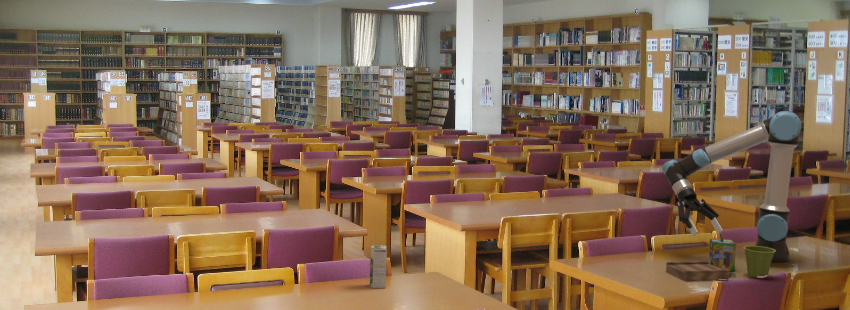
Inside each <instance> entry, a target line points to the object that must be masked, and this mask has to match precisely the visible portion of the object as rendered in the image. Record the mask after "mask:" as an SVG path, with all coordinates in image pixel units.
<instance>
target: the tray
mask: <svg viewBox="0 0 850 310" xmlns="http://www.w3.org/2000/svg"><path fill="white" fill-rule="evenodd" d="M665 272H667V273H668V274H670V275H672V276H674V277H677V278H678V279H680V280H682V281H684V282H705V281H707V282H708V281H711V282H712V280H717V281H720V280H719V279H729V280H730V277H729V272H730V271H729V270H722V269H720V268H717V267H715V266H713V265H710V264H709V260H707V261H704V260H703V261H700V260H699V261H667V262H666V265H665Z"/></svg>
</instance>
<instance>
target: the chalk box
mask: <svg viewBox="0 0 850 310" xmlns="http://www.w3.org/2000/svg"><path fill="white" fill-rule="evenodd" d="M719 233H720V232H719ZM719 237H720V238H709V254H708V256H709V257H708V262H709V264H710V265H713V266H715V267H717V268H720V269H722V270H729V272H735V269H736V268H735V267H736V242H734V241H733V240H732V239H723V235H722V232H721V233H720V234H719Z"/></svg>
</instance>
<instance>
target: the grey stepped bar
mask: <svg viewBox="0 0 850 310" xmlns="http://www.w3.org/2000/svg"><path fill="white" fill-rule="evenodd" d="M731 277H732V278H736V277H737V273H736V272H735V273H734V272H732V271H729V278H731Z"/></svg>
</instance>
